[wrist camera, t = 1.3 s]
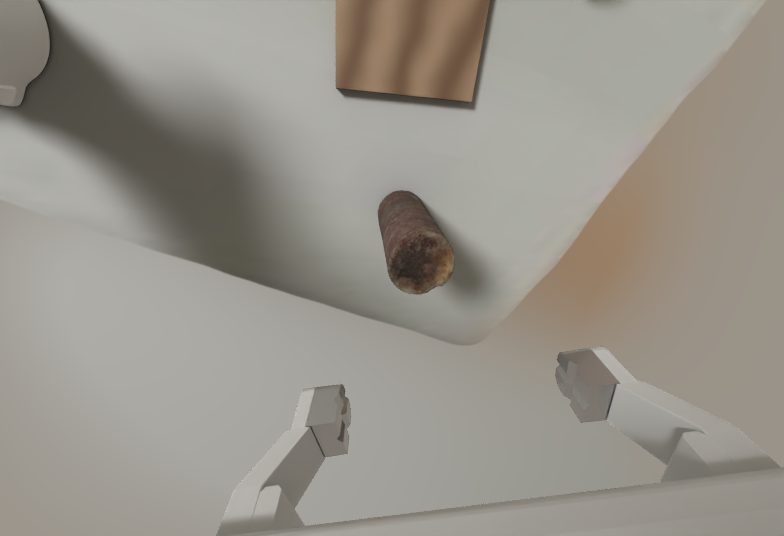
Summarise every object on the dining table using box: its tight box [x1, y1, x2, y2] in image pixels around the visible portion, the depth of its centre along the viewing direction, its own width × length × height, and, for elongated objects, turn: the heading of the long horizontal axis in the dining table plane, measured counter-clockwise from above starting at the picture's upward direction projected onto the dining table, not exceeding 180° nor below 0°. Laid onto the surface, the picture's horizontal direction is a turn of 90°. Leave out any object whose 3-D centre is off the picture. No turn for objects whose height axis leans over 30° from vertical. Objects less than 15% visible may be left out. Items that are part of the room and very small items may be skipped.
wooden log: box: [378, 190, 454, 294], centre depth 39 cm, size 8×7×20 cm
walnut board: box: [336, 0, 490, 102], centre depth 36 cm, size 18×18×2 cm
